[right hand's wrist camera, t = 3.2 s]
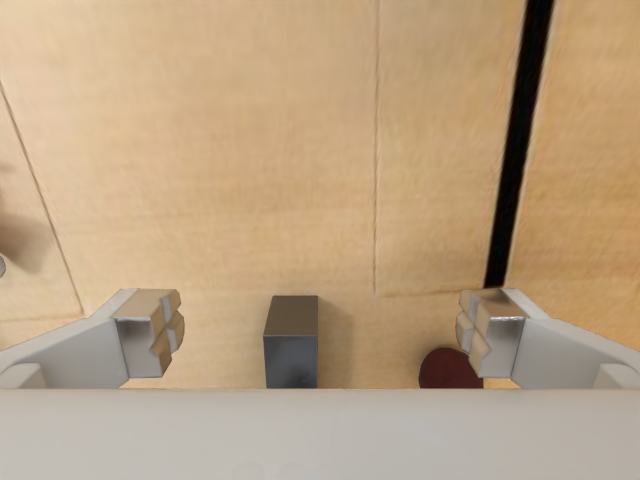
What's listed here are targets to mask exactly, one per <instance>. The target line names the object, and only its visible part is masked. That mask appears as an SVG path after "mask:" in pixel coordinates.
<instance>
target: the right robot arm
mask: <svg viewBox="0 0 640 480" xmlns="http://www.w3.org/2000/svg"><path fill="white" fill-rule="evenodd" d="M180 304H181V300H180V295H179V292H178V291H177V290H176V289H140V288H133V289H120V290H119V291H118V292H117V293H116V294H115V295H114V296H112V297H111V298H110V299H109V300H108V301H107V302H106V303H105V304H104V305H103V306H101V307H100V308H99V309H98V310H97V311H96V312H95V313H94V314H93V315H91V316H90V317H89V318H82V319H80V320H77V321H75V322H72V323H70V324H67V325H65V326H62V327H60V328H57V329H55V330H52V331H50V332H47V333H45V334H42V335H40V336H37V337H35V338H32V339H30V340H27V341H25V342H22V343H20V344H17V345H15V346H12V347H9V348H7V349H4V350H2V351H0V480H640V351H638V350H635V349H633V348H630V347H628V346H625V345H623V344H620V343H618V342H615V341H613V340H610V339H608V338H605V337H603V336H600V335H598V334H595V333H593V332H590V331H588V330H585V329H583V328H580V327H578V326H575V325H573V324H570V323H568V322H565V321H563V320H560V319H558V318H551V317H550V316H549V315H547V314H546V313H545V312H544V311H543V310H542V309H541V308H540V307H539V306H538V305H536V304H535V303H534V302H533V301H532V300H531V299H530V298H529V297H528V296H527V295H525V294H524V293H523V292H522V291H521V290H520V289H516V288H510V289H466V290H462V292H461V295H460V299H459V304H460V306H461V308H462V309H463V311H462V312H461V313H460V314H459V315H458V316H457V318H456V326H455V329H456V337H457V341H458V344H459V345H460V347H461V349H462V350H464V351H465V352H467V353H468V354H469V358H468V361H469V363H470V364H471V366H472V368H473V369H474V371H475V373H476V374H477V376H478V378H511V380H512V381H513V382H515V383H516V384H517V385H519V386H520V387H521V388H523V389H117V388H119V387H120V386H122V385H123V384H124V383H126V382H127V381H128V380H129V378H161V377H162V376H163V375H164V373H165V371H166V369H167V368H168V366H169V364H170V363H171V361H172V358H171V354H172V353H173V352H175V351H176V350H178V349H179V347H180V345H181V343H182V341H183V336H184V317H183V316H182V315H181V314H180V313H179V312H178V311H177V309H178V308H179V306H180Z"/></svg>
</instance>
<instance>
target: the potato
mask: <svg viewBox="0 0 640 480" xmlns="http://www.w3.org/2000/svg"><path fill="white" fill-rule="evenodd" d="M468 358H469V356H468V355H466V354H465V353H463V352H460V351H457V350H454V349H451V348H440V349H437V350H434V351H432V352H431V353H429V354H428V355H427V356H426V358H425V359H424V361H423V363H422V365H421V369H420V373H419V385H420V389H483V378H478V376H477V374H476V373H475V371H474V369H473V368H472V366H471V364H470V363H469V361H468Z"/></svg>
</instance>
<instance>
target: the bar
mask: <svg viewBox="0 0 640 480" xmlns="http://www.w3.org/2000/svg"><path fill="white" fill-rule="evenodd" d="M263 341H264V356H265V371H266V386H267V389H318V296H273V297H272V302H271V306H270V310H269V314H268V318H267V322H266V326H265V330H264V334H263Z"/></svg>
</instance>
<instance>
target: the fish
mask: <svg viewBox="0 0 640 480" xmlns="http://www.w3.org/2000/svg"><path fill="white" fill-rule="evenodd" d="M5 271H6V267H5V263H4V260H3V258H2V257H1V256H0V278H1V277H2V276H3V274H4V273H5Z"/></svg>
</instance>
